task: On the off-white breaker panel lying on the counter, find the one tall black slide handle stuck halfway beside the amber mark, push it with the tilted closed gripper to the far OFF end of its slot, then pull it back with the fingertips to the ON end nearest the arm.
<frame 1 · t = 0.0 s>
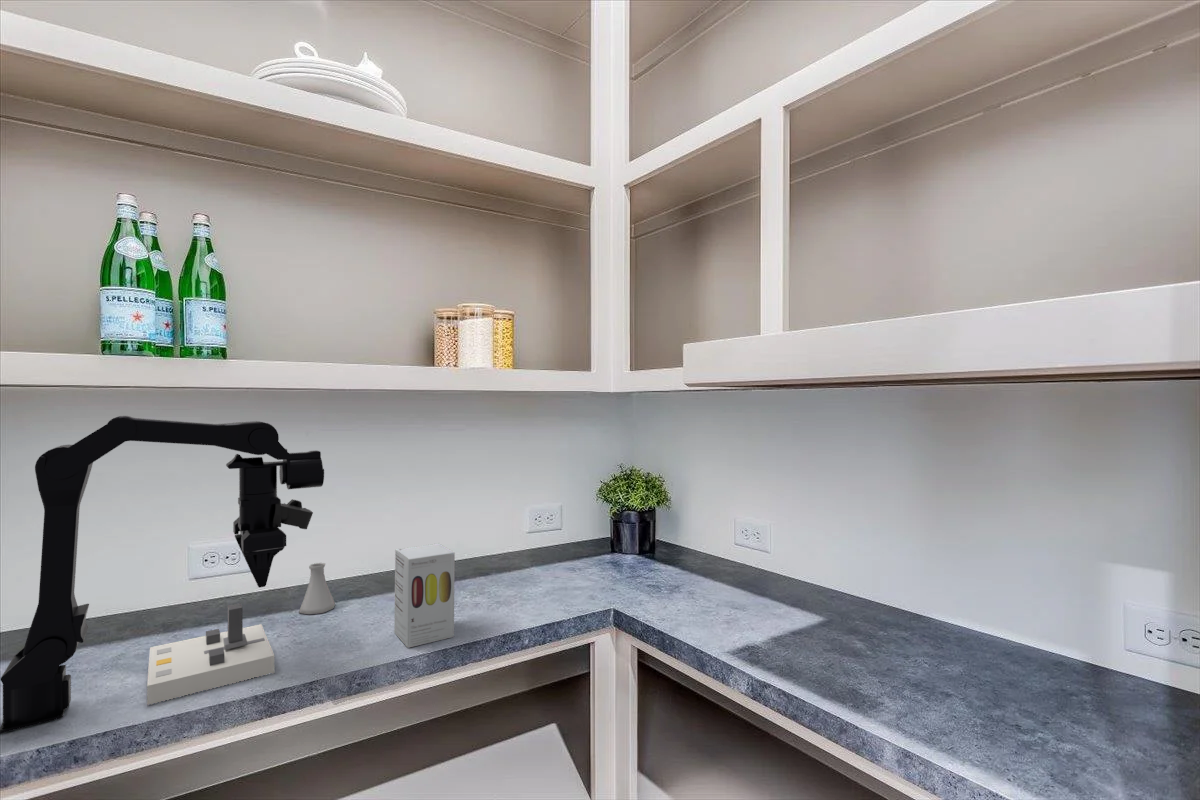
hand: (258, 580, 101), 15 cm above the worktop, tool pointing down, fingers open, 9 cm apart
supplement box: (424, 635, 113), on the worktop
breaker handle: (235, 625, 101), point 7 cm above the worktop, slide at 3.0 cm
breaker panel: (211, 668, 99), on the worktop
flask: (317, 610, 126), on the worktop
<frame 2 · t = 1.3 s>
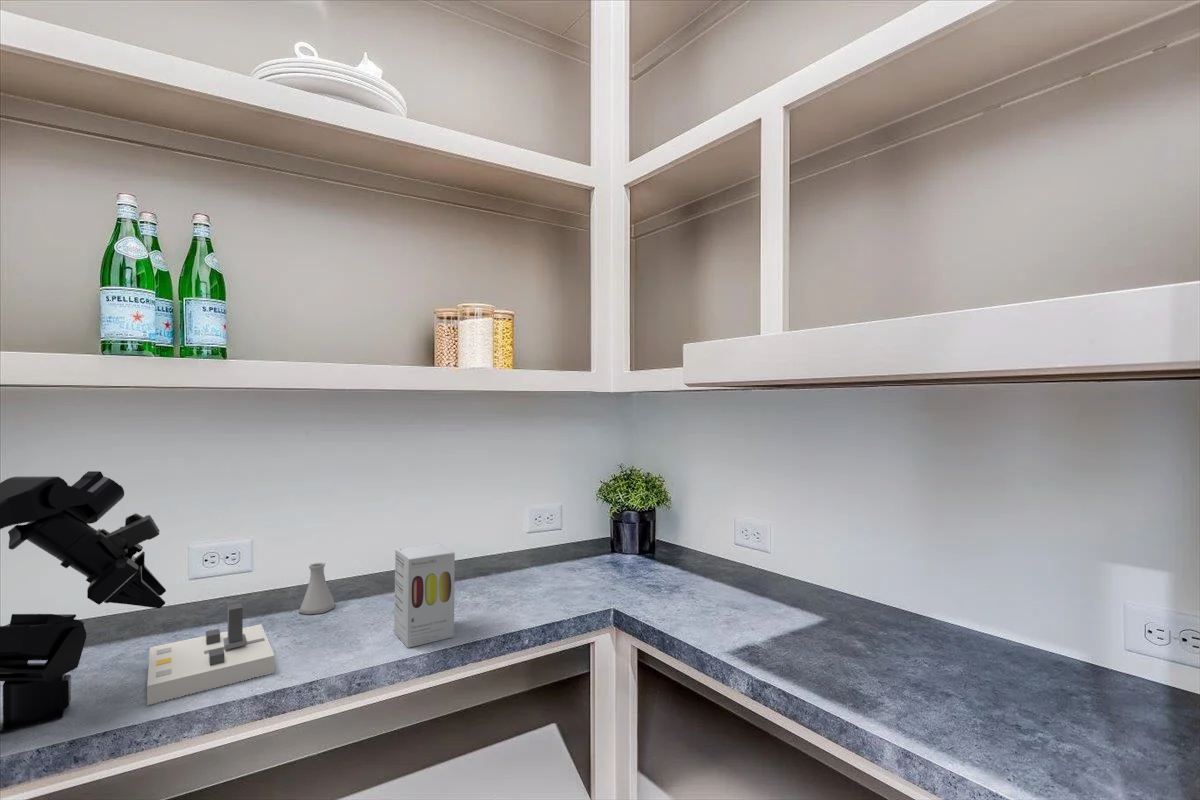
hand: (163, 599, 94), 14 cm above the worktop, tool tilted 45°, fingers open, 7 cm apart
nothing on the worktop moved.
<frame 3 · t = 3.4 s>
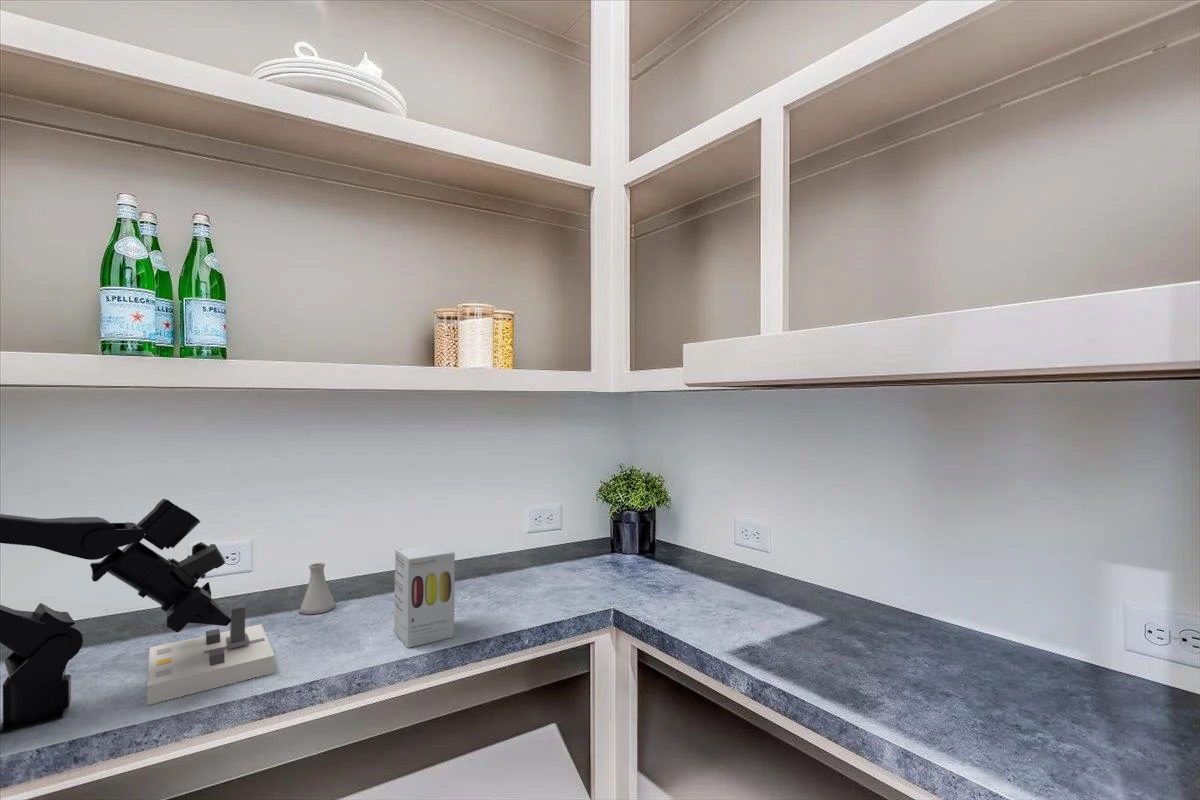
hand: (228, 623, 100), 7 cm above the worktop, tool tilted 45°, fingers closed, pressing on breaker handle
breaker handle: (237, 624, 101), point 7 cm above the worktop, slide at 3.4 cm, touching gripper
everything else where it was.
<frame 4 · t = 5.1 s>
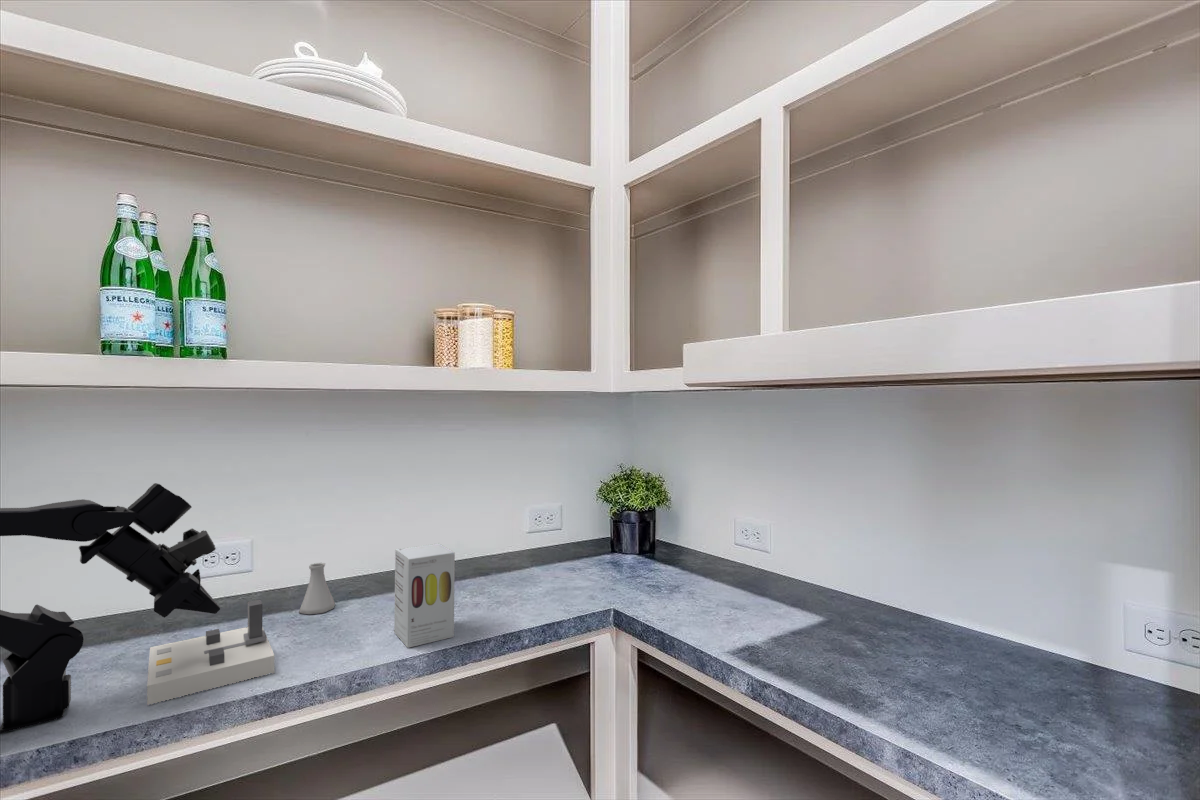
hand: (218, 610, 99), 10 cm above the worktop, tool tilted 45°, fingers closed
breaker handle: (255, 621, 102), point 7 cm above the worktop, slide at 6.0 cm
everything else where it was.
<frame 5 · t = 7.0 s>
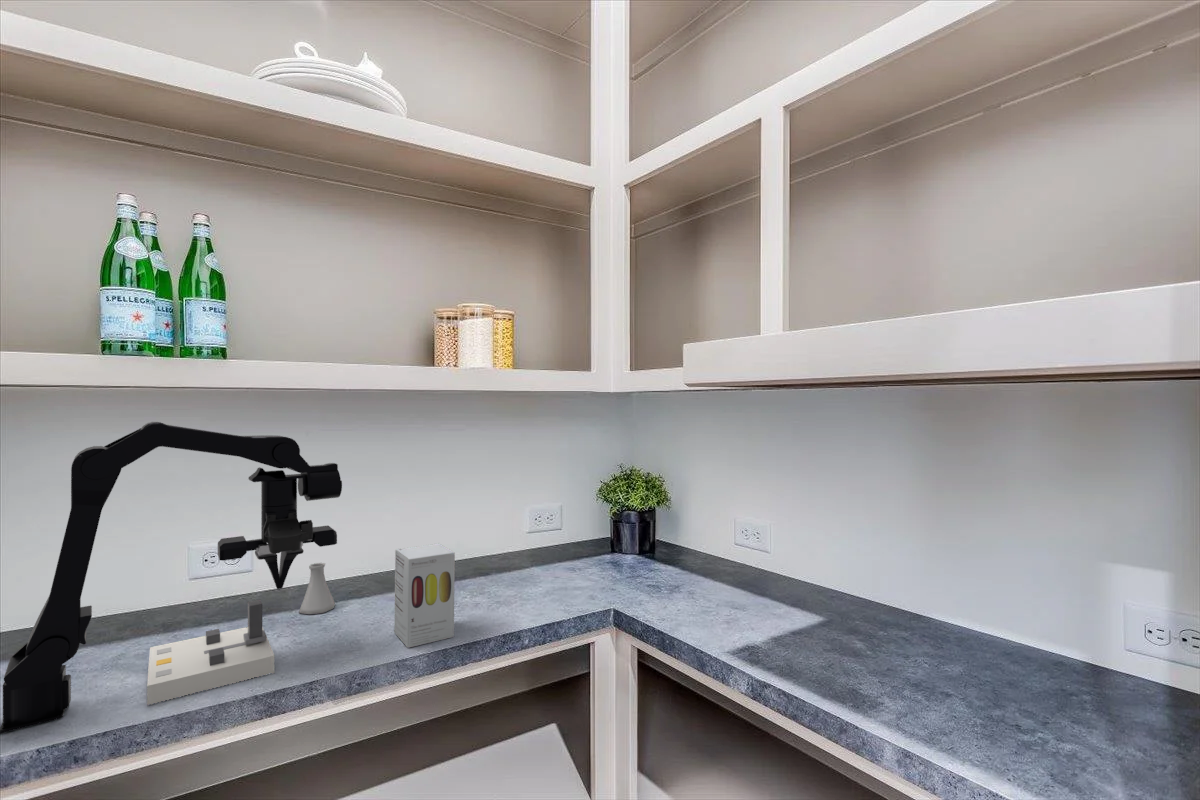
hand: (279, 588, 105), 12 cm above the worktop, tool pointing down, fingers closed
nothing on the worktop moved.
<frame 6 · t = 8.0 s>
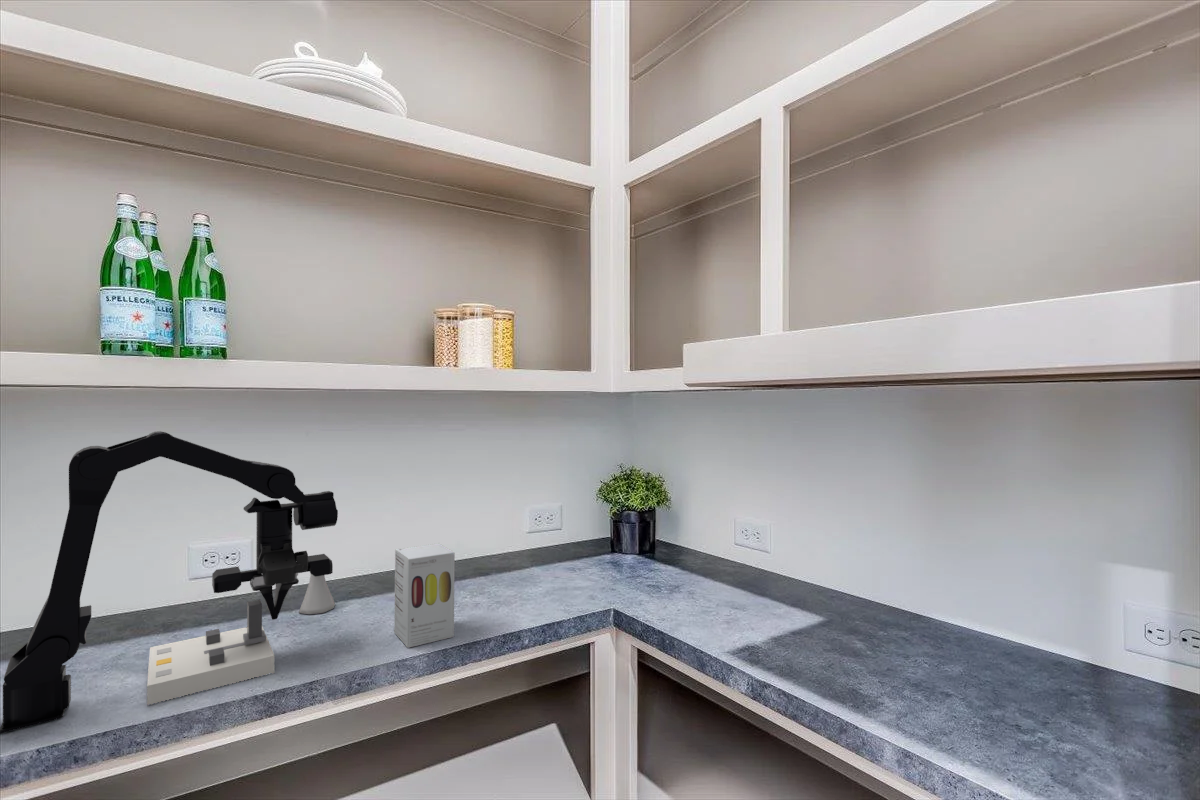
hand: (274, 618, 104), 6 cm above the worktop, tool pointing down, fingers closed
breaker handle: (254, 621, 102), point 7 cm above the worktop, slide at 6.0 cm, touching gripper
everything else where it was.
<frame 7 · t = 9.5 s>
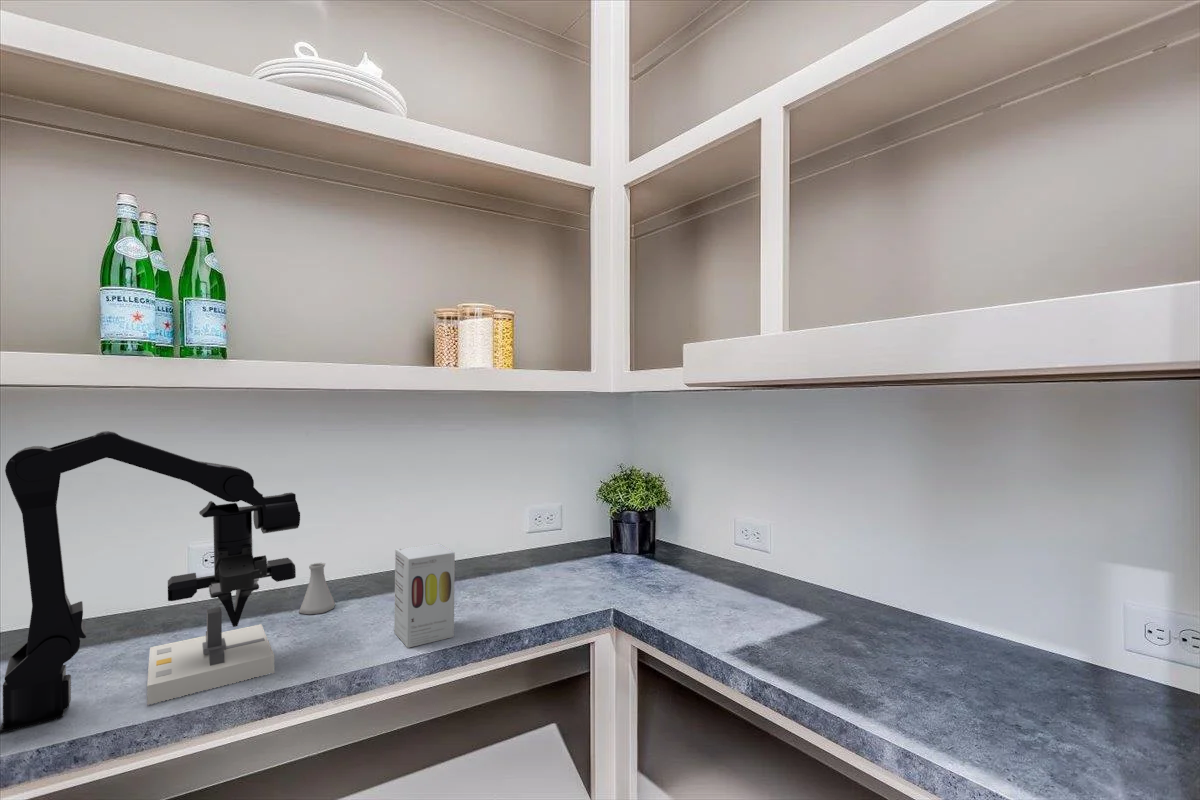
hand: (234, 626, 101), 7 cm above the worktop, tool pointing down, fingers closed
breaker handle: (214, 629, 99), point 7 cm above the worktop, slide at -0.1 cm, touching gripper
everything else where it was.
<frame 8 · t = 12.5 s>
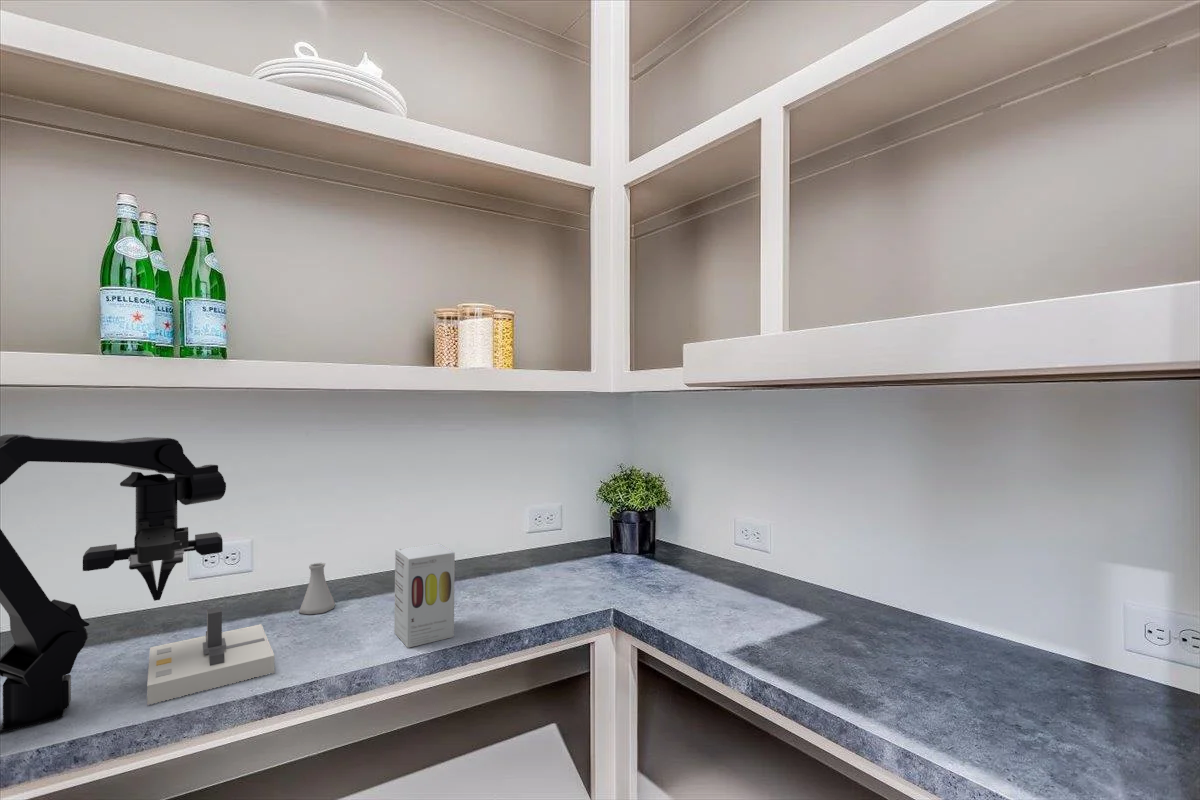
hand: (157, 599, 98), 12 cm above the worktop, tool pointing down, fingers closed
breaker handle: (214, 629, 99), point 7 cm above the worktop, slide at 0.0 cm
everything else where it was.
at the end: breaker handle slide at 0.0 cm; supplement box moved 0.2 cm from its start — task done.
